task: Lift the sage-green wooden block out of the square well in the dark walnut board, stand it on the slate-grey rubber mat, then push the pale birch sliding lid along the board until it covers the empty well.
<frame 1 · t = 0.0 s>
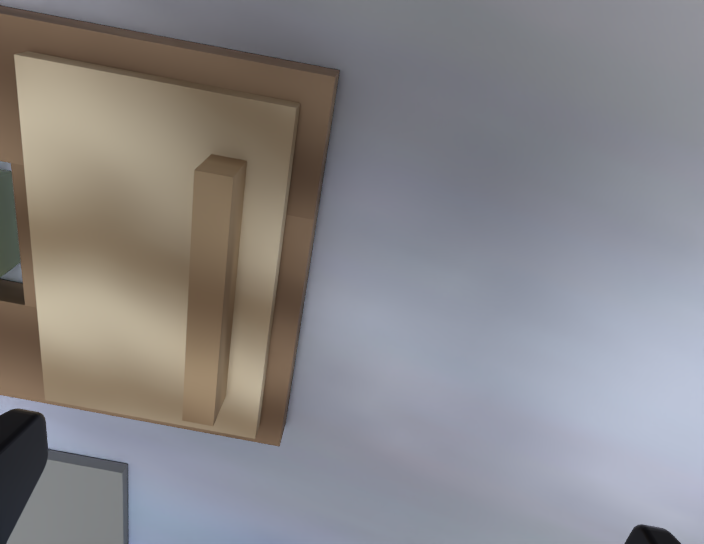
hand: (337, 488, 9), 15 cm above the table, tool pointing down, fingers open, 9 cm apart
sliding lid: (147, 281, 21), point 3 cm above the table, slide at 0.0 cm
well board: (76, 230, 24), on the table
rubber mat: (43, 496, 31), on the table
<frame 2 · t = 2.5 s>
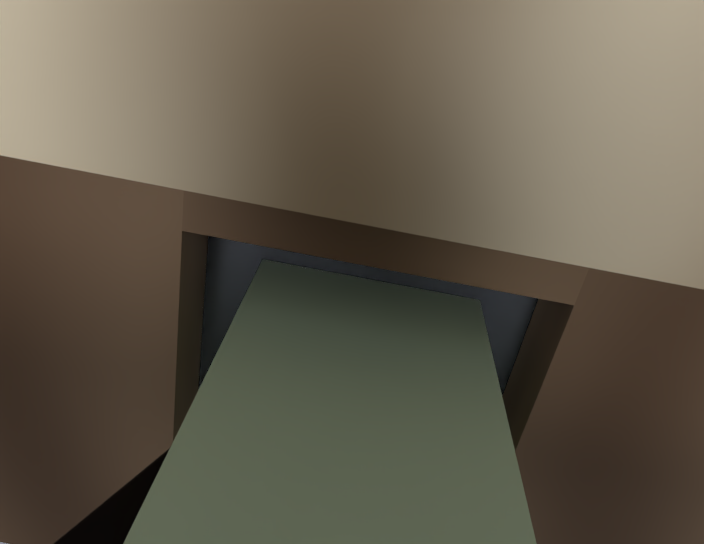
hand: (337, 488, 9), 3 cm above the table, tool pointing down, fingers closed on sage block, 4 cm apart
sage block: (352, 367, 12), resting in well board, touching gripper
well board: (399, 145, 10), on the table
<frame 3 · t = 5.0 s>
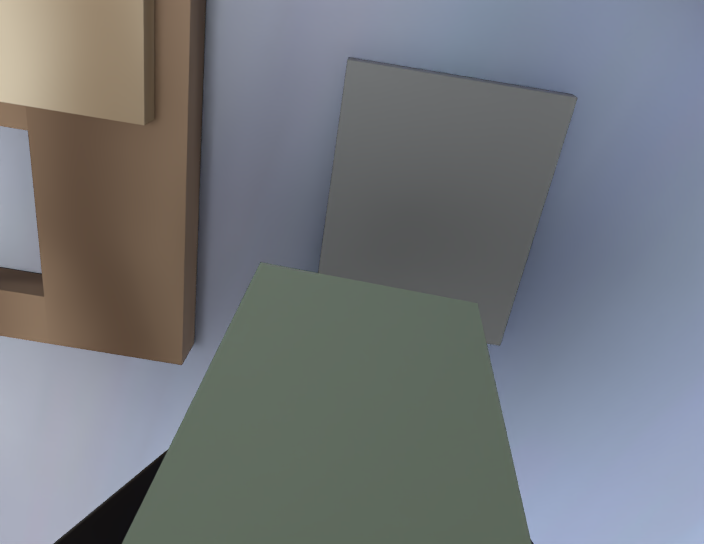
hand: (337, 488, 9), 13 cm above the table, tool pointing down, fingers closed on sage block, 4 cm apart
sage block: (350, 370, 12), point 10 cm above the table, touching gripper
rubber mat: (430, 211, 20), on the table
when the fingers open (5 cm above the table, at t = 7.5 s): sage block drops 1 cm, resting on rubber mat.
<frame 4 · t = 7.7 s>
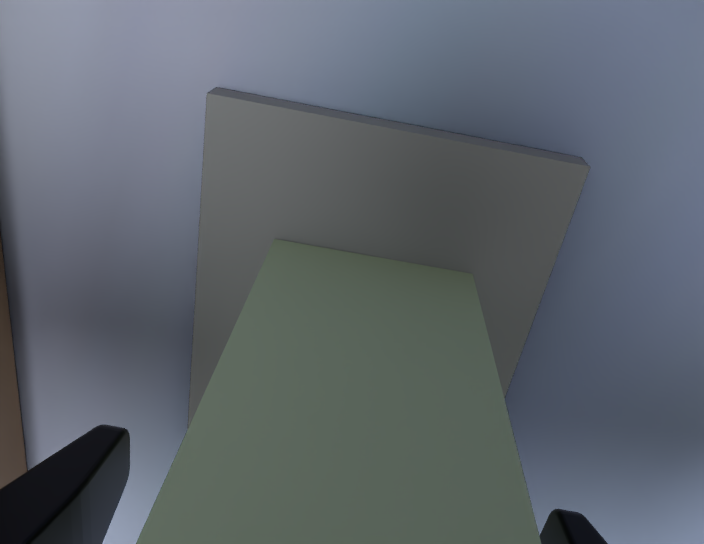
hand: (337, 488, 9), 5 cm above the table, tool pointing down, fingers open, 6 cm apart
sage block: (356, 339, 13), point 1 cm above the table, touching rubber mat
rubber mat: (357, 322, 13), on the table
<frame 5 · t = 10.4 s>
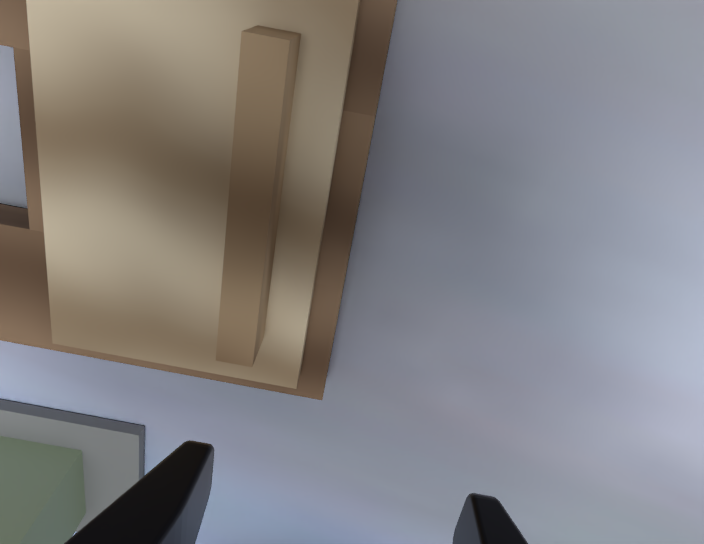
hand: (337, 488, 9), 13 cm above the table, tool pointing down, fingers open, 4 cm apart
sliding lid: (176, 190, 18), point 3 cm above the table, slide at 0.0 cm
sage block: (41, 474, 27), point 1 cm above the table, touching rubber mat
well board: (90, 141, 20), on the table
rubber mat: (48, 464, 28), on the table
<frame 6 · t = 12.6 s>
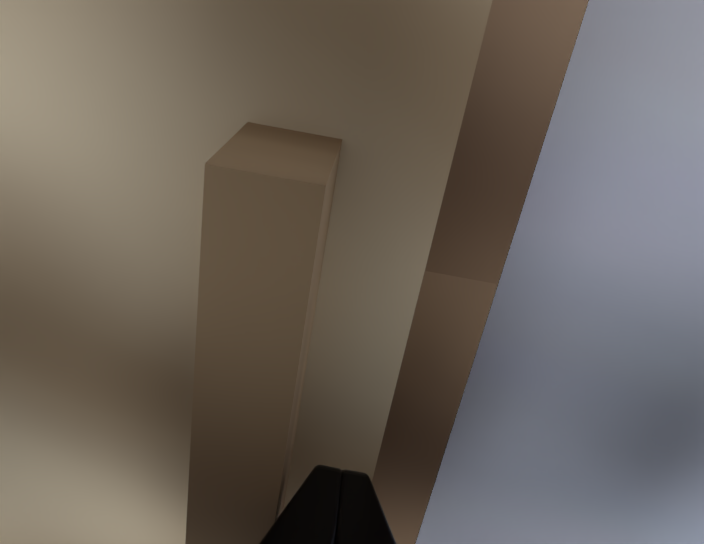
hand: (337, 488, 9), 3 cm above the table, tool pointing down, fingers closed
sliding lid: (93, 424, 9), point 3 cm above the table, slide at 0.3 cm, touching gripper
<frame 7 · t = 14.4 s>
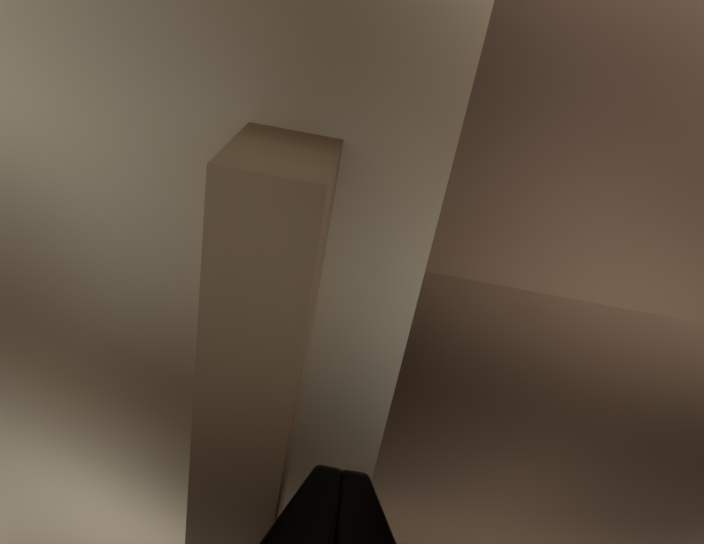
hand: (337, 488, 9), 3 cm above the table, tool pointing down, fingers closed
sliding lid: (93, 424, 9), point 3 cm above the table, slide at 8.7 cm, touching gripper
well board: (394, 370, 12), on the table
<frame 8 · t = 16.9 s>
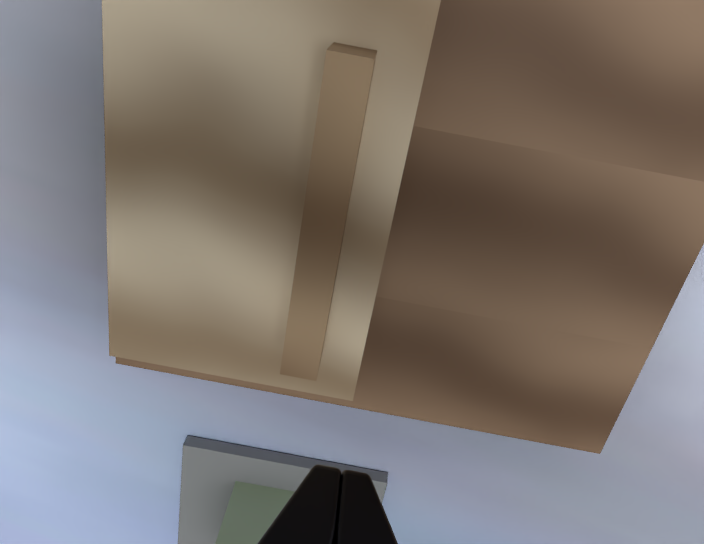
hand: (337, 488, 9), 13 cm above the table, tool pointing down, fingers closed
sliding lid: (244, 205, 18), point 3 cm above the table, slide at 8.9 cm
sage block: (275, 519, 27), point 1 cm above the table, touching rubber mat
well board: (402, 202, 20), on the table
rubber mat: (278, 508, 28), on the table
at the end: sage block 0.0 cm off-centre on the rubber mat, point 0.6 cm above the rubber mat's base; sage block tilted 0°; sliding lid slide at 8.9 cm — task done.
